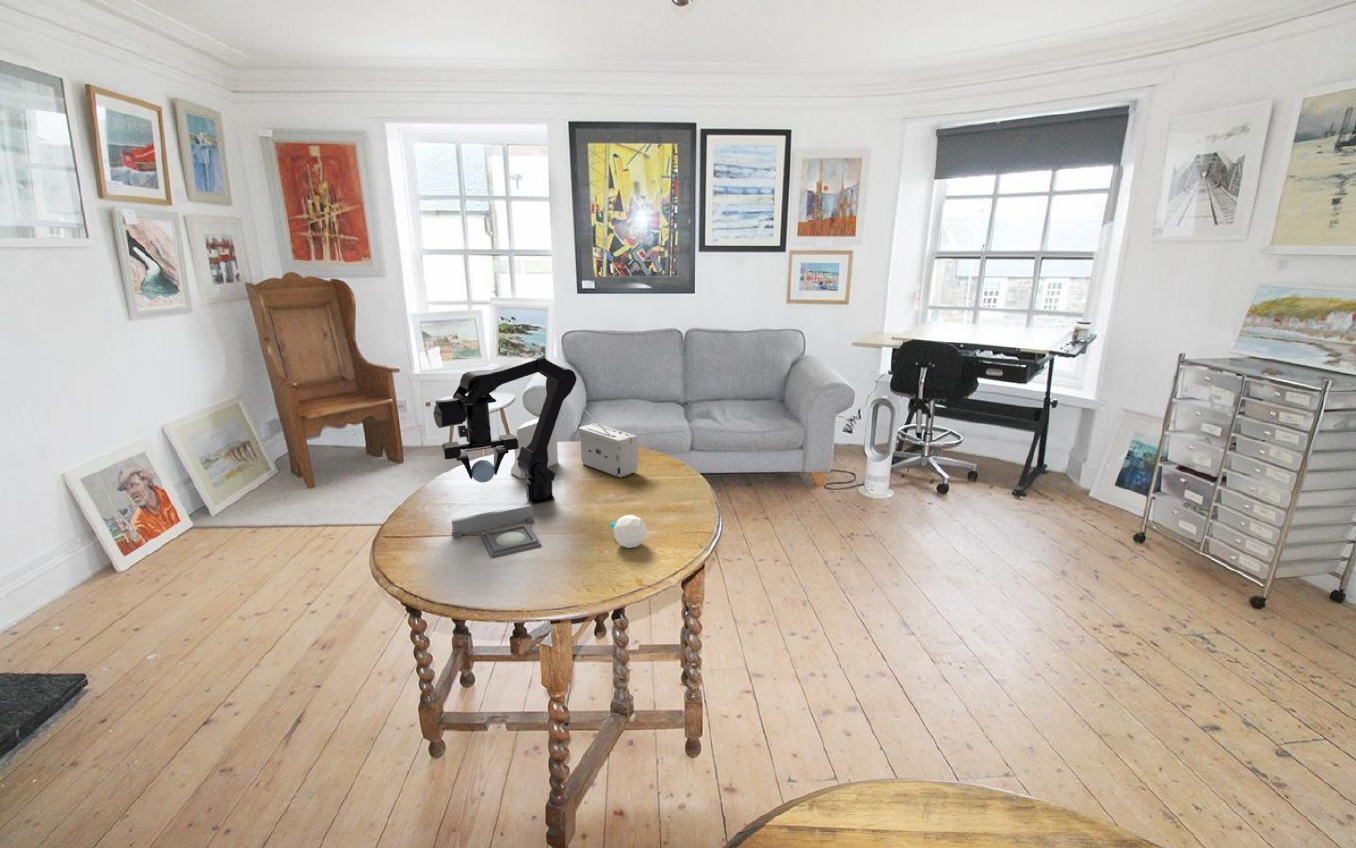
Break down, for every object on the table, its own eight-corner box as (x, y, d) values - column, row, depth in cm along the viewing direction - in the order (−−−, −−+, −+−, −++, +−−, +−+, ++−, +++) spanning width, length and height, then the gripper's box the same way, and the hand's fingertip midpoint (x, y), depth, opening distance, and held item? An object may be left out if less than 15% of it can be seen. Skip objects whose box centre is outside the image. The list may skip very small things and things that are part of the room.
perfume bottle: (621, 546, 138) (592, 533, 146) (645, 555, 143) (616, 543, 152) (635, 514, 139) (605, 504, 148) (658, 525, 145) (628, 515, 153)
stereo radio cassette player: (639, 473, 191) (638, 414, 185) (620, 480, 185) (619, 419, 179) (596, 458, 204) (594, 402, 198) (577, 464, 198) (575, 407, 193)
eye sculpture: (534, 456, 206) (531, 410, 201) (560, 463, 199) (557, 416, 194) (495, 470, 192) (491, 422, 187) (521, 479, 186) (517, 429, 181)
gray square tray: (528, 526, 155) (528, 522, 154) (541, 546, 145) (541, 541, 144) (481, 536, 149) (480, 532, 149) (491, 557, 139) (491, 553, 139)
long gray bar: (529, 515, 161) (528, 502, 159) (533, 521, 157) (532, 507, 156) (452, 531, 151) (450, 517, 150) (454, 538, 148) (453, 523, 147)
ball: (492, 476, 163) (491, 455, 161) (497, 483, 158) (495, 462, 156) (470, 479, 160) (468, 459, 158) (474, 487, 155) (472, 466, 153)
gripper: (507, 408, 165) (511, 461, 169) (435, 417, 156) (442, 472, 161) (517, 419, 155) (521, 474, 160) (441, 428, 147) (448, 486, 151)
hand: (483, 476), depth 158 cm, fingers closed on ball, 6 cm apart
